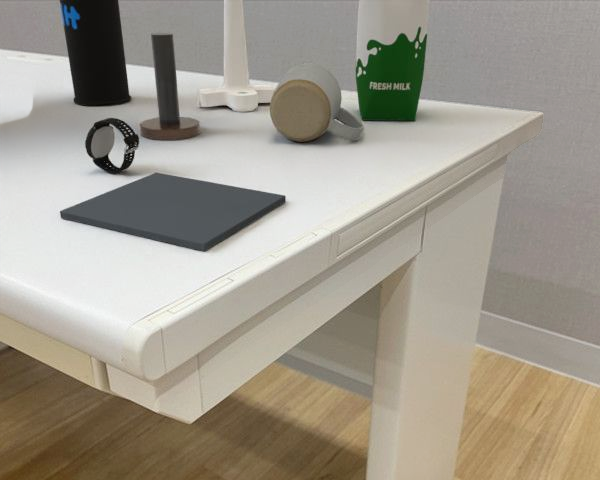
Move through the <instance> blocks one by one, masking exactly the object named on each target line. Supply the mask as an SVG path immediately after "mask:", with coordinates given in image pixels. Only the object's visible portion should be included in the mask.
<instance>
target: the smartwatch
mask: <svg viewBox="0 0 600 480" xmlns="http://www.w3.org/2000/svg"><path fill="white" fill-rule="evenodd" d="M114 128H116V129H117V130H118V132H119V133H120V134H121V135H122V136H123V142H124V144H125V146H124V150H123V160H122V164H121V165H120V167H118V166H116V165H115V164H114V163H113V162H112V161H111V159H110V158H109V157H110V156H109V155H110V153H111V152H112V150H113V147H114V145H115V138H116V137H115V136H116V135H115V131H114ZM84 147H85V151H86V154H87V155H88V157H89V158H90V159H92V162H93V164H94V165H95V166H96V167H98V168H99V169H101V170H102V171H104V172H106V173H108V174H112V175H113V174H115V175H116V174H118V173H121V172H123V171H126V170H127V169H129V168H130V167H131V166H132V164H133V162H134V159H135V155H136V154H135V153H136V151H137V150H138V148H139V147H140V136H139V134H138V133H136V132H135V130H134V129H133V127H131V126H130V125H129V123H127V122H126V121H124V120H122V119H120V118H116V117H107V118H104V119H100V120H97V121H95V122H94V123H93V125H92V126H91V127H90V129H89V131H88V132H87V134H86V138H85V142H84Z"/></svg>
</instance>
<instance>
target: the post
mask: <svg viewBox="0 0 600 480" xmlns="http://www.w3.org/2000/svg"><path fill="white" fill-rule="evenodd" d="M150 37H151V49H152V58H153V68H154V69H153V70H154V79H155V90H156V99H157V110H158V111H157V112H158V117H154V118H149V119H146V120H143V121H141V122H140V123H139V129H140V135H141V136H142V138H146V139H150V140H155V141H179V140H184V139H185V140H186V139H190V138H194V137H196V136H199V135H200V134H201V123H200V121H199V120H198V119H196V118H193V117H188V116H181V115H180V114H181V113H180V104H179V91H178V78H177V65H176V55H175V54H176V53H175V43H174V34H173V33H171V32H153V33H150Z"/></svg>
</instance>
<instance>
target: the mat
mask: <svg viewBox="0 0 600 480" xmlns="http://www.w3.org/2000/svg"><path fill="white" fill-rule="evenodd" d="M286 197H287V196H286V195H285V194H278V193H273V192H267V191H263V190H257V189H252V188H245V187H239V186H234V185H228V184H223V183H217V182H212V181H207V180H200V179H195V178H189V177H185V176H184V177H183V176H177V175H172V174H167V173H161V172H154V173H151V174H149V175H146V176H144V177H141V178H139V179H137V180H134V181H131V182H128V183H127V184H124V185H122V186H119V187H116V188H114V189H112V190H109V191H106V192H104V193H102V194H99V195H97V196H94V197H92V198H89V199H87V200H84V201H82V202H79V203H77V204H74V205H71V206H69V207H66V208H64V209H62V210H61V209H60V211H59V215H60V219H64V220H69V221H73V222H77V223H82V224H86V225H90V226H94V227H99V228H103V229H108V230H111V231H116V232H120V233H125V234H129V235H133V236H137V237H142V238H146V239H150V240H155V241H159V242H162V243H168V244H172V245H176V246H181V247H184V248H189V249H193V250H197V251H201V252H206V251H207V250H209V249H211V248H212V247H214V246H216V245H217V244H219V243H220V242H222V241H224V240H226V239H227V238H229V237H230V236H232V235H234V234H236V233H237V232H238V231H240V230H242V229H244V228H246V227H247V226H249V225H250V224H251V223H254V222H255V221H256V220H258V219H260V218H262V217H263V216H265V215H267V214H268V213H270V212H271V211H273V210H275V209H276V208H278V207H280V206H281V205H283V204H284V203H286V200H287V199H286Z"/></svg>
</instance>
